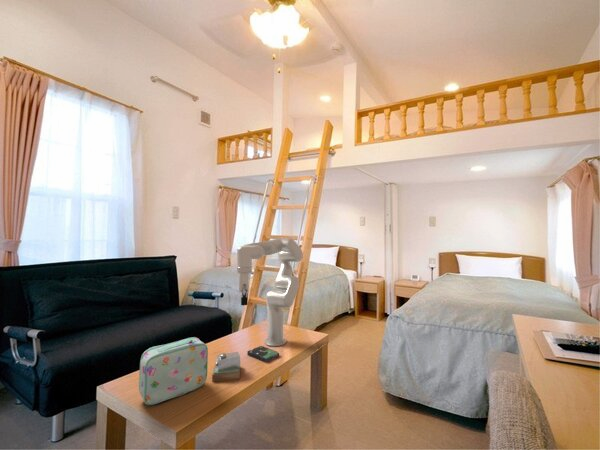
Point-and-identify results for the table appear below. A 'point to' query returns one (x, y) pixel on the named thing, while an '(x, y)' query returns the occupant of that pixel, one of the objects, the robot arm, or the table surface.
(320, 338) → the table surface
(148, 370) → the lunch box
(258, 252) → the robot arm
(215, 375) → the green and brown block
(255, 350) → the disk drive
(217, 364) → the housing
